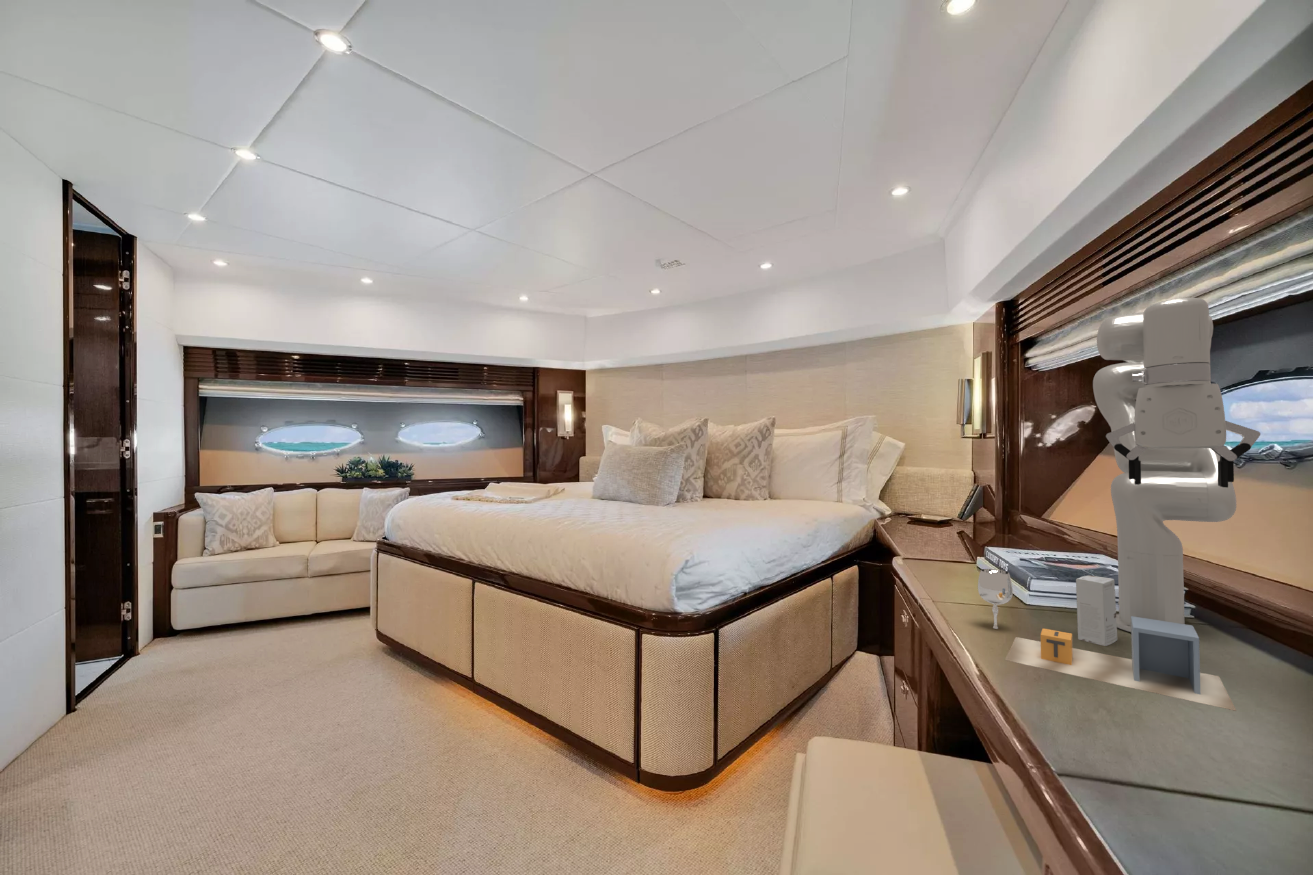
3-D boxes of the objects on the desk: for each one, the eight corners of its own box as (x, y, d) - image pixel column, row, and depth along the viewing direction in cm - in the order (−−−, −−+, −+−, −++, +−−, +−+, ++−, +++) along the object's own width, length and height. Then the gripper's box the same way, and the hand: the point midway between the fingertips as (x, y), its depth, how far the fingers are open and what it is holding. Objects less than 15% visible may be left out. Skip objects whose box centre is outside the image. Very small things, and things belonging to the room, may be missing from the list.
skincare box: (1106, 652, 93) (1105, 583, 93) (1076, 644, 97) (1074, 578, 97) (1118, 644, 96) (1117, 578, 97) (1088, 637, 100) (1087, 574, 100)
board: (1005, 666, 87) (1005, 659, 87) (1015, 642, 97) (1015, 637, 98) (1236, 718, 70) (1236, 710, 70) (1219, 682, 81) (1218, 676, 81)
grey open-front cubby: (1132, 666, 84) (1131, 616, 85) (1193, 678, 80) (1192, 625, 80) (1134, 680, 79) (1133, 627, 79) (1200, 694, 75) (1199, 638, 75)
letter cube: (1043, 651, 90) (1042, 628, 91) (1072, 657, 88) (1072, 633, 88) (1040, 658, 87) (1040, 634, 87) (1071, 665, 85) (1071, 640, 85)
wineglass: (971, 630, 104) (970, 569, 104) (990, 626, 106) (990, 567, 107) (1000, 639, 99) (999, 576, 99) (1020, 635, 101) (1019, 573, 101)
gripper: (1104, 380, 86) (1107, 484, 86) (1263, 370, 75) (1267, 489, 74) (1104, 384, 92) (1106, 482, 91) (1252, 375, 81) (1255, 486, 80)
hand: (1178, 485), depth 83 cm, fingers open, 9 cm apart
